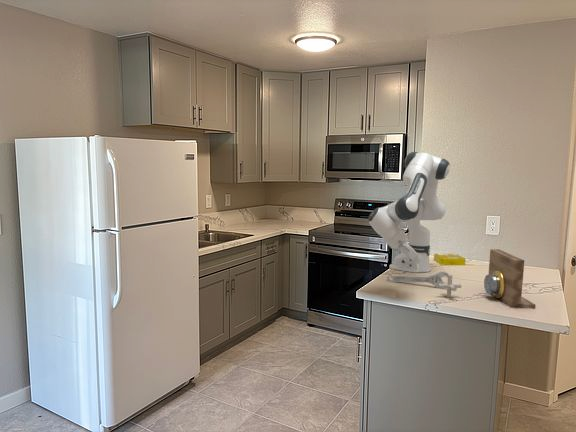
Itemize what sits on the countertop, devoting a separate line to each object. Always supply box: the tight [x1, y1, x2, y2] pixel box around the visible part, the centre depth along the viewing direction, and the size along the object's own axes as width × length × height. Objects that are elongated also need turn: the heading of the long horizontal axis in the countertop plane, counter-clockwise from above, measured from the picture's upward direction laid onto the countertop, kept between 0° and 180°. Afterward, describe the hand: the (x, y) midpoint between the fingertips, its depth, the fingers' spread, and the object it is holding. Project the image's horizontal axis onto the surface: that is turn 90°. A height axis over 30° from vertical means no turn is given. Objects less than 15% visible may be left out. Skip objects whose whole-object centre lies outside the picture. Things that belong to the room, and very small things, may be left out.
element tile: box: [433, 253, 466, 266], centre depth 268 cm, size 15×15×5 cm
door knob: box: [483, 271, 505, 299], centre depth 194 cm, size 5×12×12 cm, turn 177°
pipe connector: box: [437, 273, 462, 298], centre depth 194 cm, size 10×10×10 cm
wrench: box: [386, 270, 450, 289], centre depth 214 cm, size 8×2×30 cm
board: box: [487, 248, 536, 309], centre depth 193 cm, size 10×24×20 cm, turn 177°
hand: (418, 262), depth 194 cm, fingers closed
